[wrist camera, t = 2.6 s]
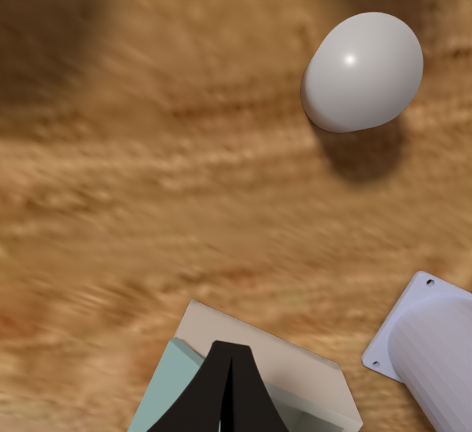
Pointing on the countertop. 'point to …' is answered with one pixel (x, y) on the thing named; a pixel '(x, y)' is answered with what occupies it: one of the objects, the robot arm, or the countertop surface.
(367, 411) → the countertop surface
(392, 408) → the countertop surface
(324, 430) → the box
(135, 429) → the lid
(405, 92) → the grey rounded dome
